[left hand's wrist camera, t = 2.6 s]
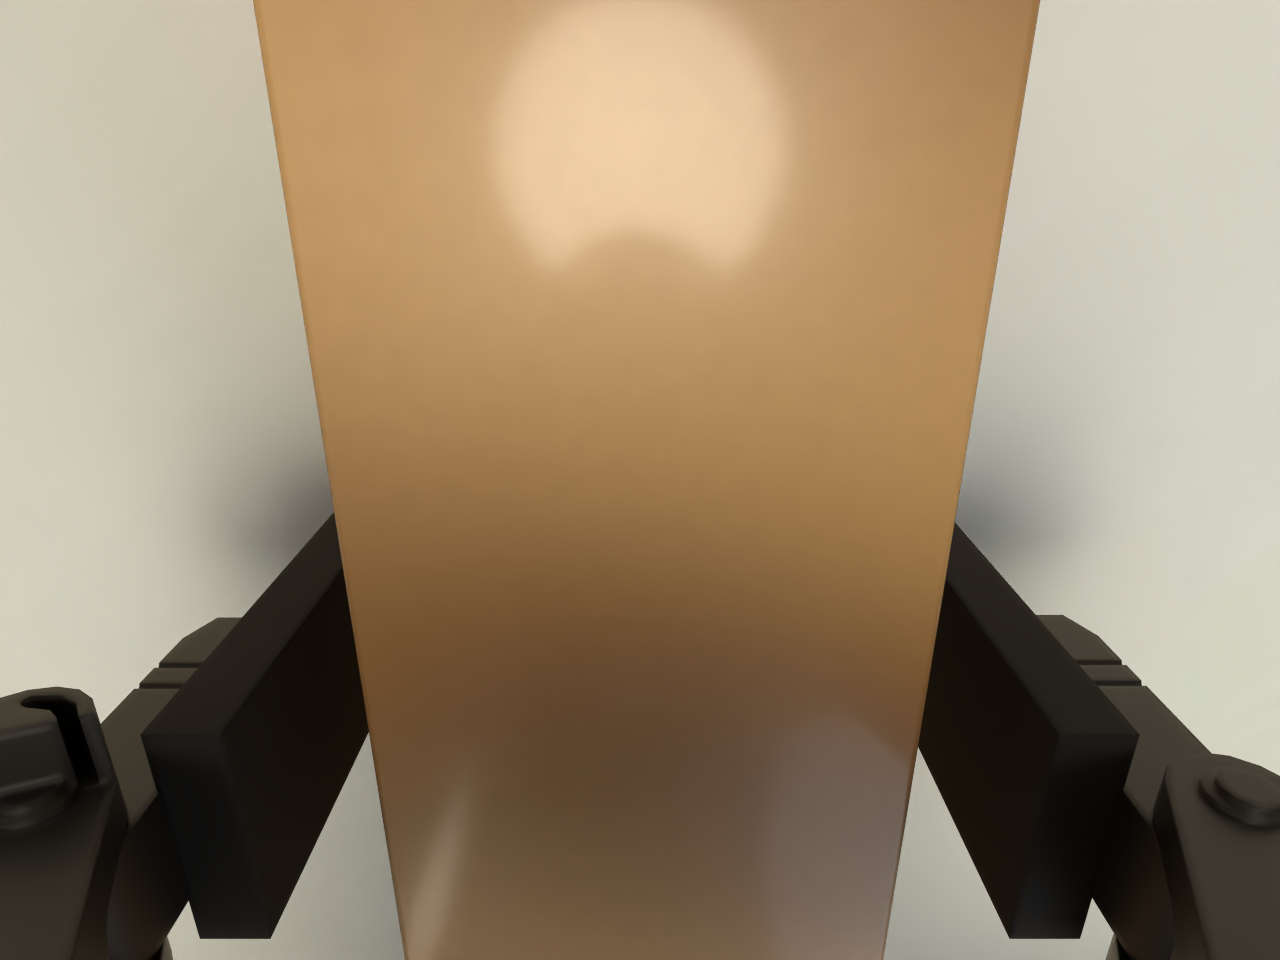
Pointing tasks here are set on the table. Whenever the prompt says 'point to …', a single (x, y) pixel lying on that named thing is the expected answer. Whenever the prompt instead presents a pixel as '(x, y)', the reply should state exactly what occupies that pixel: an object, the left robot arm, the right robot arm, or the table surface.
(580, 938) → the bar
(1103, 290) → the table surface
